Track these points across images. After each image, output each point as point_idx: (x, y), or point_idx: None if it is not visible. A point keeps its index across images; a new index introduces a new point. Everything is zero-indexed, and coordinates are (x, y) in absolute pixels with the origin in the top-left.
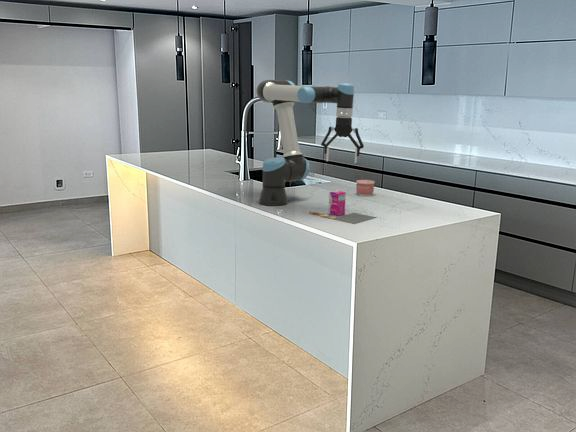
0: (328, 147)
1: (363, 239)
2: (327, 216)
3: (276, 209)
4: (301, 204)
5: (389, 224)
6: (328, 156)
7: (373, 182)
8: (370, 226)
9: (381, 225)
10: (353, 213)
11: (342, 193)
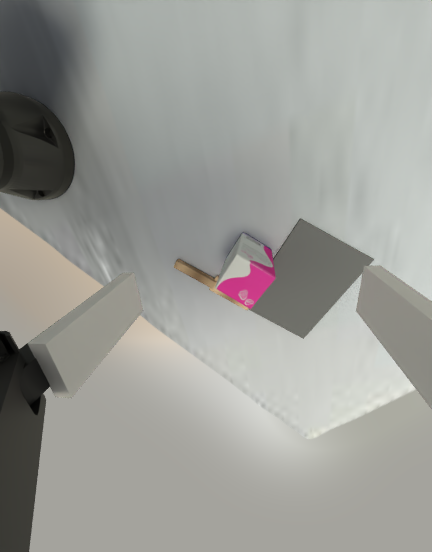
0: (59, 378)
1: (320, 426)
2: (229, 298)
3: (84, 236)
4: (111, 136)
5: None
6: (118, 295)
7: None
8: (342, 345)
9: None
10: (297, 230)
11: (264, 291)
